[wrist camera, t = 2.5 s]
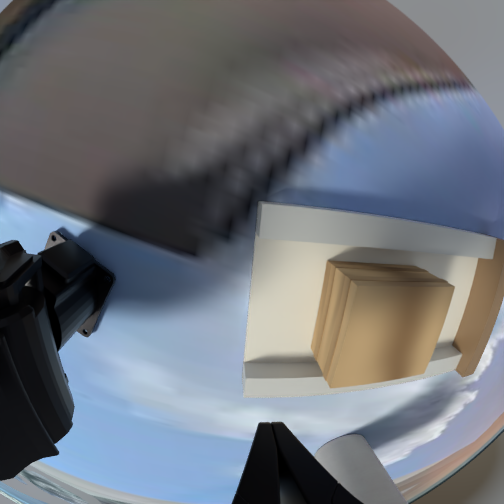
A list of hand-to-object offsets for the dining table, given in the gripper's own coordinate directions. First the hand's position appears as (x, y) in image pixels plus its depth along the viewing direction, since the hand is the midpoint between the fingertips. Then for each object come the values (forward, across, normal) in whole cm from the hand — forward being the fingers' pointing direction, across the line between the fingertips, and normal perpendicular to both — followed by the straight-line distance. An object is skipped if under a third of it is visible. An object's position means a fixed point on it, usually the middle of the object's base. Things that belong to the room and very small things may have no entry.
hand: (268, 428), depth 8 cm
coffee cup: (+12, -13, +20) cm, 26 cm away
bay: (+12, -12, 0) cm, 17 cm away
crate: (+11, -9, 0) cm, 14 cm away
